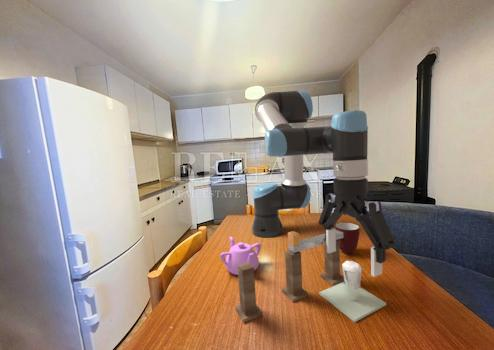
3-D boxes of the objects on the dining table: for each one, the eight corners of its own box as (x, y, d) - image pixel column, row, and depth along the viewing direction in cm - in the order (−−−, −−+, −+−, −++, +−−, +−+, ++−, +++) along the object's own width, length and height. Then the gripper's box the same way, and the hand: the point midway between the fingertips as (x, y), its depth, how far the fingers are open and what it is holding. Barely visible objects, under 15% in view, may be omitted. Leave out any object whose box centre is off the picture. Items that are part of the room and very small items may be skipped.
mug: (349, 262, 73) (349, 234, 72) (327, 254, 79) (327, 228, 78) (363, 251, 80) (363, 225, 79) (342, 245, 86) (341, 221, 85)
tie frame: (235, 309, 54) (232, 264, 53) (332, 272, 68) (331, 235, 67) (243, 322, 50) (240, 274, 49) (345, 280, 64) (344, 241, 62)
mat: (319, 294, 58) (319, 292, 58) (348, 281, 63) (348, 279, 63) (354, 322, 48) (354, 319, 48) (386, 305, 53) (386, 302, 53)
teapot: (254, 280, 66) (253, 253, 65) (215, 274, 71) (213, 248, 70) (266, 261, 77) (264, 238, 76) (231, 257, 82) (229, 234, 81)
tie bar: (288, 249, 59) (287, 232, 58) (337, 235, 66) (336, 220, 65) (293, 253, 56) (293, 235, 56) (343, 237, 64) (343, 222, 63)
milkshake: (336, 292, 57) (335, 256, 56) (355, 290, 58) (354, 254, 57) (345, 304, 53) (344, 265, 52) (366, 301, 53) (365, 263, 52)
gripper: (304, 175, 62) (306, 247, 64) (392, 184, 39) (392, 294, 41) (323, 173, 65) (326, 241, 67) (416, 180, 42) (415, 282, 44)
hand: (351, 262), depth 54 cm, fingers open, 12 cm apart
